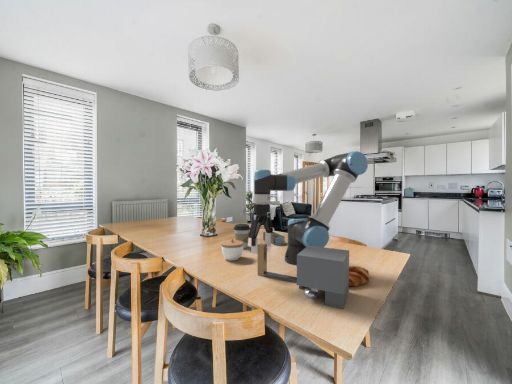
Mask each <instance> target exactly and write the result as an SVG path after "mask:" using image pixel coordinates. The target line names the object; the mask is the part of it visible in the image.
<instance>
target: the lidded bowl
mask: <svg viewBox="0 0 512 384" xmlns="http://www.w3.org/2000/svg"><path fill="white" fill-rule="evenodd" d="M243 245H244V242H242V241H239V240H235V239H234V238H231V239H229V240H224V241H221V243H220V246H221V253H222V256H223V257H224V258H225V259H226V260H227V261H238V260H239V259H240V257H241V256H242V255H243V252H244V249H243Z"/></svg>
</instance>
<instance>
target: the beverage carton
mask: <svg viewBox="0 0 512 384" xmlns="http://www.w3.org/2000/svg"><path fill="white" fill-rule="evenodd" d="M262 232H263V231H262ZM265 233H267V232H266V231H264V232H263V234H262V236H263V237H262V238H263V241H265ZM285 241H286V239H285V235H282V234H279V233H277V232H274V231H273V233H271V245H274V246H282V245H285V243H286V242H285Z"/></svg>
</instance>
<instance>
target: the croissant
mask: <svg viewBox="0 0 512 384" xmlns="http://www.w3.org/2000/svg"><path fill="white" fill-rule="evenodd" d="M369 276H370V272H369V270H368V269H367V268H365V267H361V266H357V265H355V266H354V265H352V266H349V287H359V286H363V285H365V284H367V283H369V282H370V277H369Z"/></svg>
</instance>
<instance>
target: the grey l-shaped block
mask: <svg viewBox="0 0 512 384" xmlns="http://www.w3.org/2000/svg"><path fill="white" fill-rule="evenodd" d="M349 267H350V250H347V249H341V248H332V247H316V246H307V247H306V248H305V249H303V250H302V251H301V252H300V253H299V254H297V265H296V277H297V283H296V286H298V287H299V286H304V287H303V288H314V289H317V290H318V291H319V290H320V291H324V293H325V294H324V305H325V306H331V307H333V308H334V307H335V308H338V309H343V310H344V309H345V305H346V302H347V299H348V296H349V292H350V291H349V288H350V286H349Z"/></svg>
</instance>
